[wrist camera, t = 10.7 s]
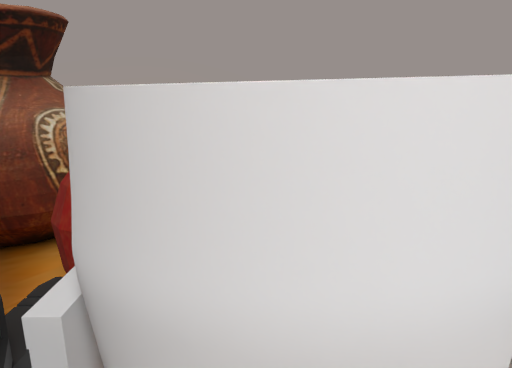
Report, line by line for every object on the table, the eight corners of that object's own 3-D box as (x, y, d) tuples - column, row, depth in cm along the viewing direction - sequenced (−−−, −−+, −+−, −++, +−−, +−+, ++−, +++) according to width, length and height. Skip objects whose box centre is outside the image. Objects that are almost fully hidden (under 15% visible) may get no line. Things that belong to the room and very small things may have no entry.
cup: (30, 657, 9) (-84, 90, 7) (226, 390, 17) (211, 82, 15) (510, 1003, 6) (699, 69, 3) (478, 464, 14) (522, 74, 11)
